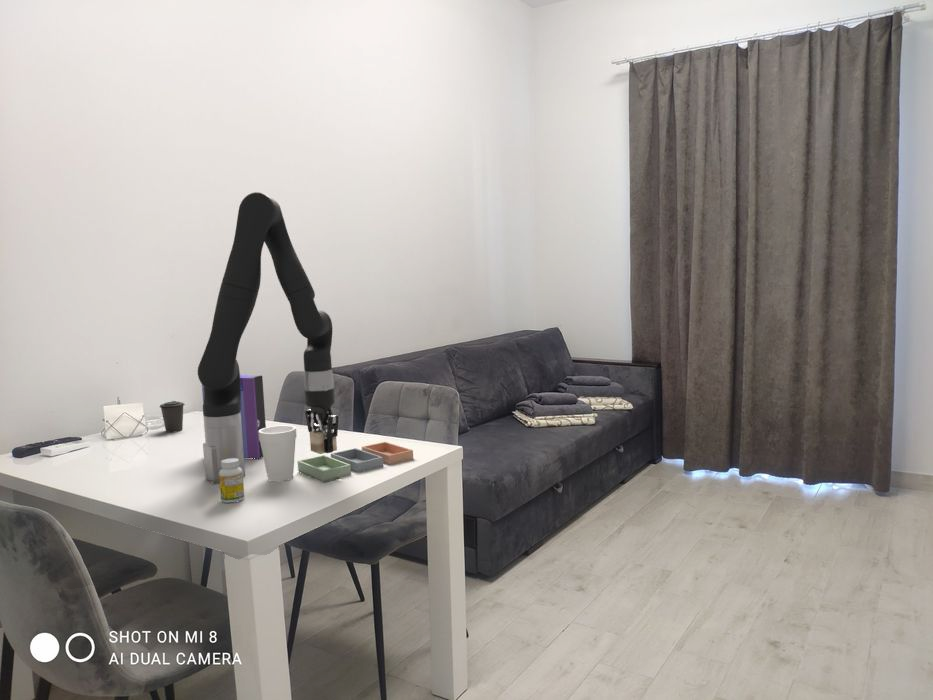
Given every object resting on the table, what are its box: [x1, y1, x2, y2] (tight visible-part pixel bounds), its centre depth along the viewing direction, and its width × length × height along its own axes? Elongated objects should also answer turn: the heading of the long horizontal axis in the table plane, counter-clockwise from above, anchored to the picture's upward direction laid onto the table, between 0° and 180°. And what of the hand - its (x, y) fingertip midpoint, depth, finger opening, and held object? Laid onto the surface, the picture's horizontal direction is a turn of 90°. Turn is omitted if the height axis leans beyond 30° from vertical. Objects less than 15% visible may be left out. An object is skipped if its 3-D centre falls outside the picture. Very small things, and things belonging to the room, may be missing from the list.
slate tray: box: [330, 448, 384, 473], centre depth 192 cm, size 8×14×3 cm, turn 40°
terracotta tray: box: [361, 441, 414, 465], centre depth 198 cm, size 8×14×3 cm, turn 40°
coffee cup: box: [159, 400, 186, 433], centre depth 244 cm, size 8×8×10 cm
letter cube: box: [309, 430, 338, 455], centre depth 185 cm, size 5×5×5 cm
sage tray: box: [297, 454, 352, 483], centre depth 186 cm, size 8×14×3 cm, turn 40°
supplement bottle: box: [219, 458, 245, 504], centre depth 166 cm, size 5×5×10 cm
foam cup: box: [258, 424, 298, 482], centre depth 182 cm, size 10×9×13 cm
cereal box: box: [201, 374, 267, 460], centre depth 206 cm, size 17×5×24 cm, turn 73°
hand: (323, 450), depth 185 cm, fingers closed on letter cube, 5 cm apart
